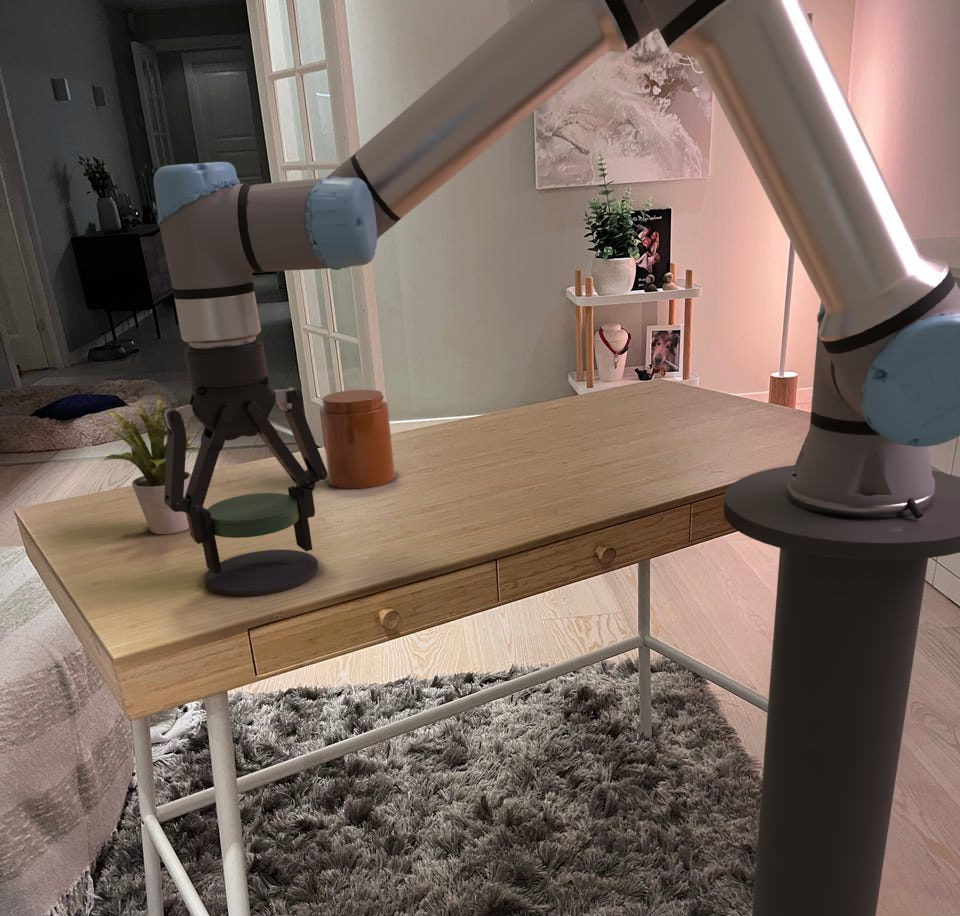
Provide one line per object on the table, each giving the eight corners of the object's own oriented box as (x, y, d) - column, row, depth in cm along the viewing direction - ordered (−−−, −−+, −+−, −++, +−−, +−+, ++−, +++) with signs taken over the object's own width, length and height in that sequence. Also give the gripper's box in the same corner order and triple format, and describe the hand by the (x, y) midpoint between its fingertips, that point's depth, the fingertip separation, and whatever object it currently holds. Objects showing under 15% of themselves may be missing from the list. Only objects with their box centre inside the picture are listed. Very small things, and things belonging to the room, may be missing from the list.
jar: (406, 479, 134) (398, 395, 129) (345, 493, 130) (334, 406, 125) (377, 466, 141) (368, 385, 136) (318, 478, 137) (307, 396, 132)
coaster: (336, 576, 102) (335, 571, 102) (225, 606, 97) (224, 600, 97) (294, 546, 112) (293, 541, 111) (191, 571, 106) (190, 566, 106)
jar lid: (203, 518, 104) (200, 502, 104) (289, 503, 107) (287, 487, 106) (214, 544, 96) (211, 526, 96) (307, 527, 99) (305, 510, 98)
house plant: (246, 534, 117) (222, 397, 110) (127, 557, 112) (94, 415, 105) (222, 504, 128) (199, 379, 121) (113, 524, 124) (83, 394, 116)
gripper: (313, 323, 102) (340, 526, 111) (97, 353, 92) (147, 573, 101) (343, 329, 96) (369, 543, 105) (115, 362, 86) (166, 595, 96)
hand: (260, 558), depth 103 cm, fingers closed on jar lid, 9 cm apart
